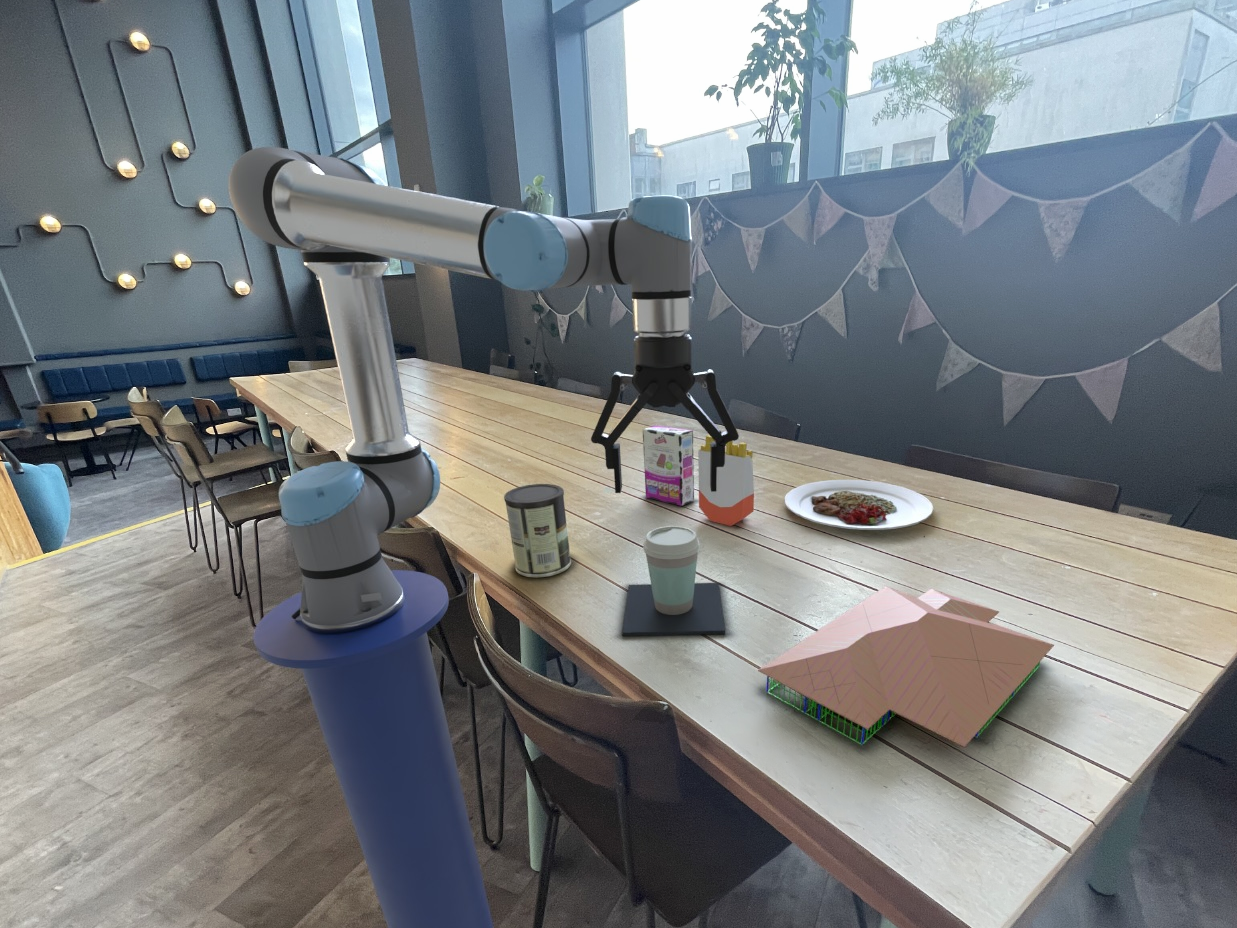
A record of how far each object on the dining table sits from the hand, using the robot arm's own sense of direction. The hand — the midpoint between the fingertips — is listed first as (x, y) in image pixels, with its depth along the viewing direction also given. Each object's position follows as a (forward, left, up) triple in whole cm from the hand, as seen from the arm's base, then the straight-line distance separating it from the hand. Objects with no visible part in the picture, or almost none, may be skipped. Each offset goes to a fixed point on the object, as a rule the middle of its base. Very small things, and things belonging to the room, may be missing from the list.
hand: (665, 489), depth 88 cm
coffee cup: (+1, 0, -19) cm, 19 cm away
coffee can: (-23, +17, -20) cm, 35 cm away
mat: (+1, 0, -20) cm, 20 cm away
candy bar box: (0, +51, -20) cm, 54 cm away
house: (+31, -18, -20) cm, 41 cm away
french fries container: (+12, +37, -20) cm, 43 cm away
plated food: (+40, +41, -20) cm, 60 cm away
